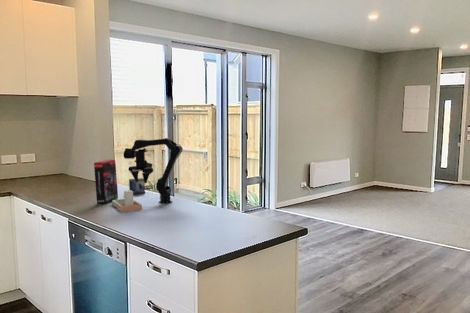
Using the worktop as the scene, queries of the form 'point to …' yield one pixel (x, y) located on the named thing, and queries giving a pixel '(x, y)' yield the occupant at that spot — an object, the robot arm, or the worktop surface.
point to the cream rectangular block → (128, 197)
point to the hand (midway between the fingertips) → (141, 182)
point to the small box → (137, 186)
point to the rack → (121, 206)
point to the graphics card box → (105, 181)
